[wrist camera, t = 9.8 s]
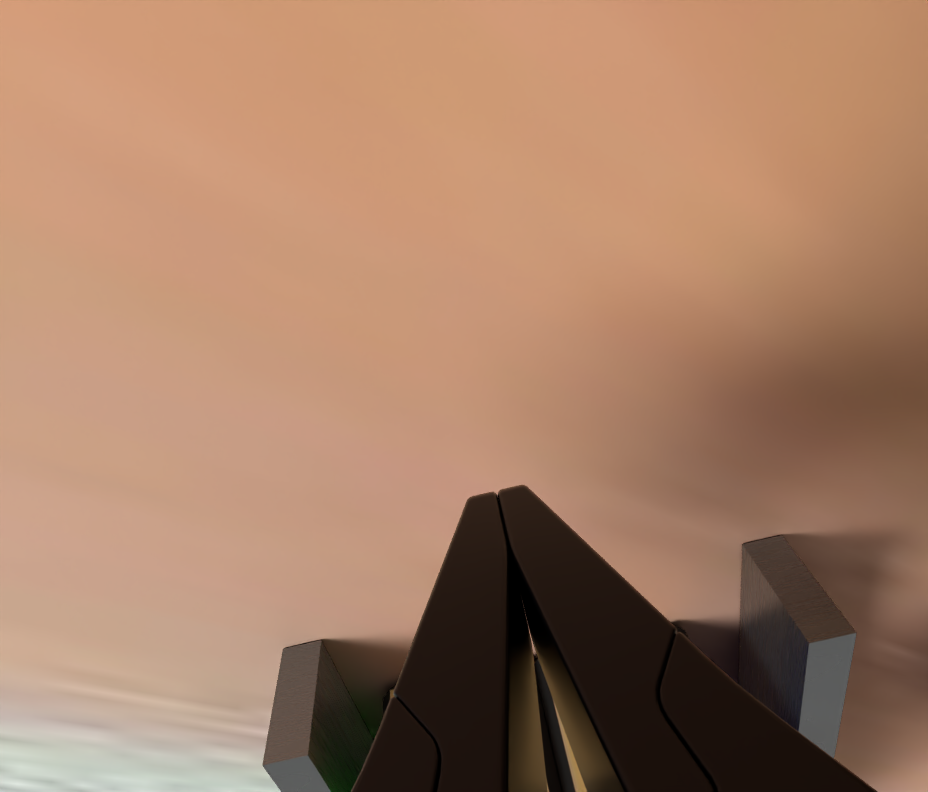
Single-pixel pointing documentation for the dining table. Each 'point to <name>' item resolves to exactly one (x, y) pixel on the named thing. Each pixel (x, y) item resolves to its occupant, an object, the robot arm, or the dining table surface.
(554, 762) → the puzzle cube
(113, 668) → the dining table surface
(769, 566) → the dock
